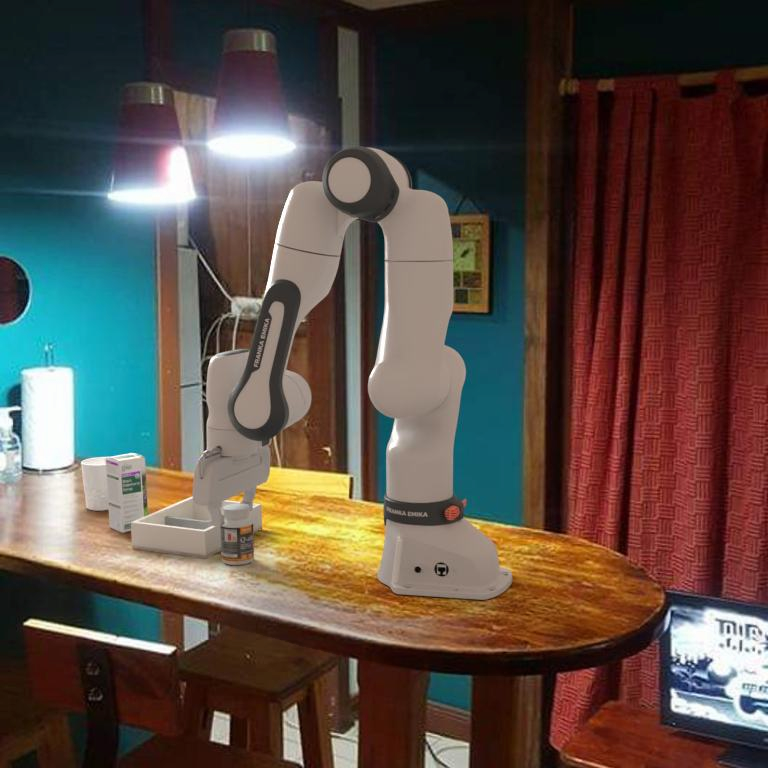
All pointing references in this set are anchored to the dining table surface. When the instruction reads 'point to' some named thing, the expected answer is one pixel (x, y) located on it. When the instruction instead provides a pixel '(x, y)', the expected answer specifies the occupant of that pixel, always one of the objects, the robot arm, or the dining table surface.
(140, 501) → the syrup box
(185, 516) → the box
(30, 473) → the dining table surface
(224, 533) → the pill bottle
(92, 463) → the white cup
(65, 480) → the dining table surface
